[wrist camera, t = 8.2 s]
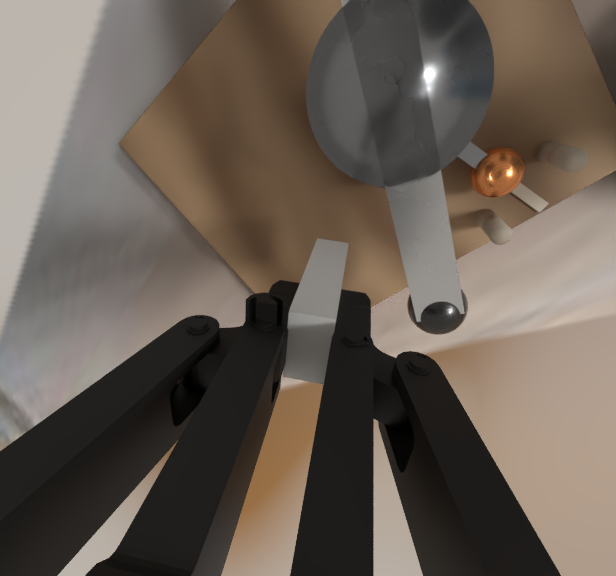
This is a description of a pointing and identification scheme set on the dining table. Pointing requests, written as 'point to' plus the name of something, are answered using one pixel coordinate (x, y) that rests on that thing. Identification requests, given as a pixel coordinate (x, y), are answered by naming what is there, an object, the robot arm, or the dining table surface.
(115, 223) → the dining table surface
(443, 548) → the robot arm
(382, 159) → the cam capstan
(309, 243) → the wooden lever board
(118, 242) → the dining table surface
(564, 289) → the dining table surface
